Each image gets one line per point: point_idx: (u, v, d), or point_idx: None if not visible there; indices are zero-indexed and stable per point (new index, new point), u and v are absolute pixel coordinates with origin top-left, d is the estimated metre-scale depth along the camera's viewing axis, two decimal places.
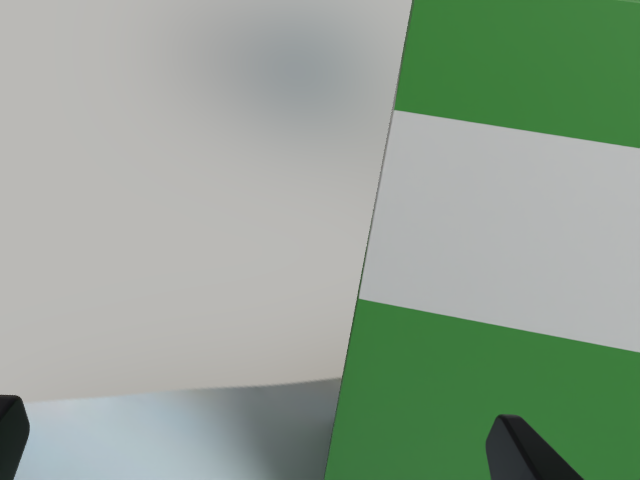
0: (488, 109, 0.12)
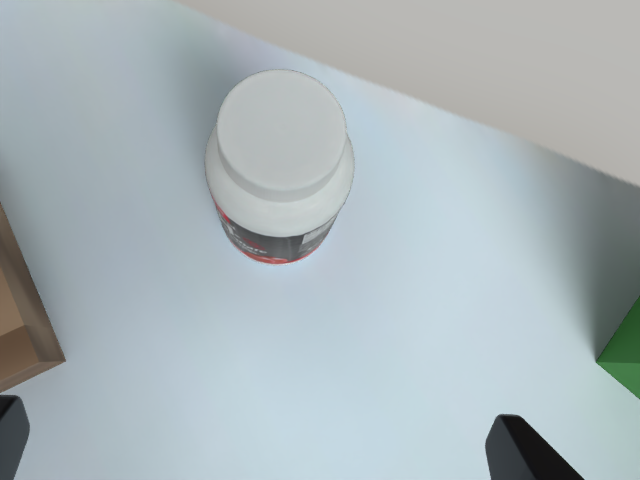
0: None
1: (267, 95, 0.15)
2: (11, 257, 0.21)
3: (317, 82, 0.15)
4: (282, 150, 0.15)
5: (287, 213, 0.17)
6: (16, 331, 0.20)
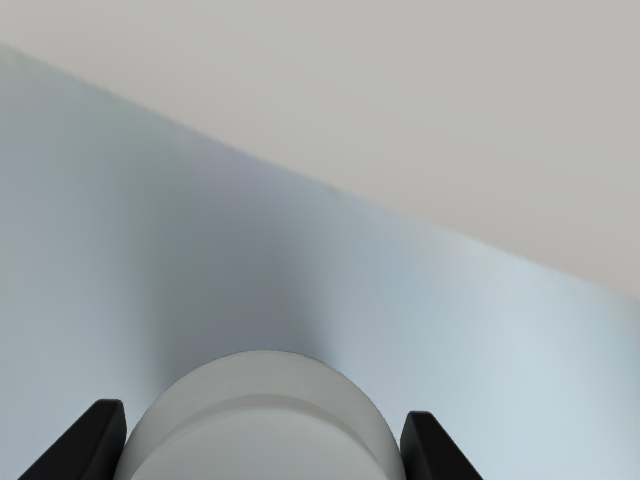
0: None
1: None
2: None
3: (342, 437, 0.07)
4: None
5: None
6: None
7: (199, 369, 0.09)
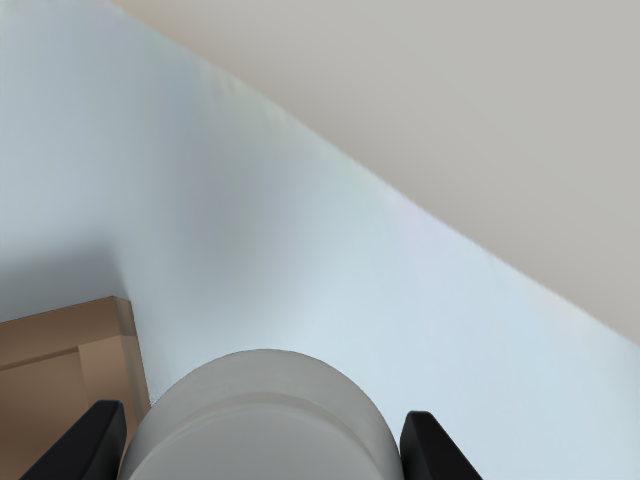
0: None
1: None
2: None
3: (335, 434, 0.07)
4: None
5: None
6: None
7: (201, 368, 0.09)
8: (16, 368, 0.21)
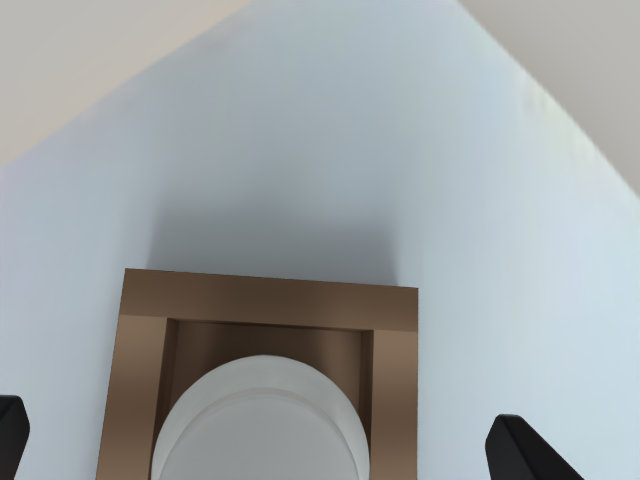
0: None
1: (235, 448, 0.10)
2: None
3: (313, 414, 0.10)
4: None
5: None
6: None
7: (214, 371, 0.12)
8: (274, 328, 0.20)
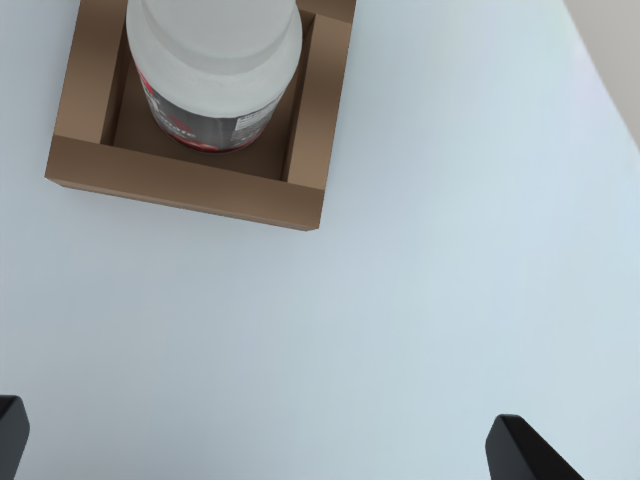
0: None
1: None
2: None
3: None
4: (218, 8, 0.13)
5: (219, 89, 0.15)
6: (316, 191, 0.20)
7: None
8: None
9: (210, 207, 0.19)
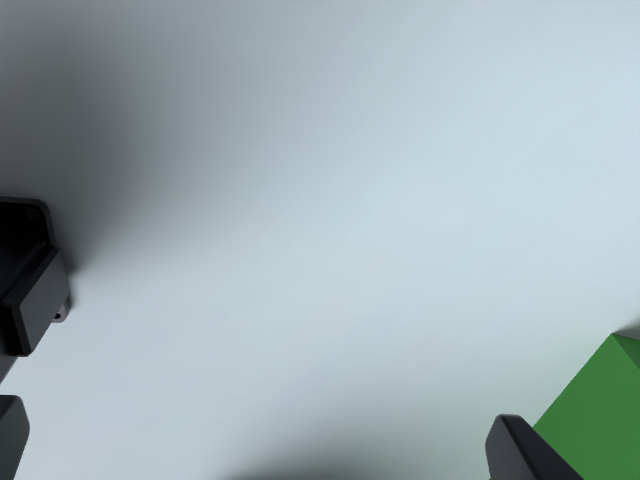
0: None
1: None
2: None
3: None
4: None
5: None
6: None
7: None
8: None
9: None
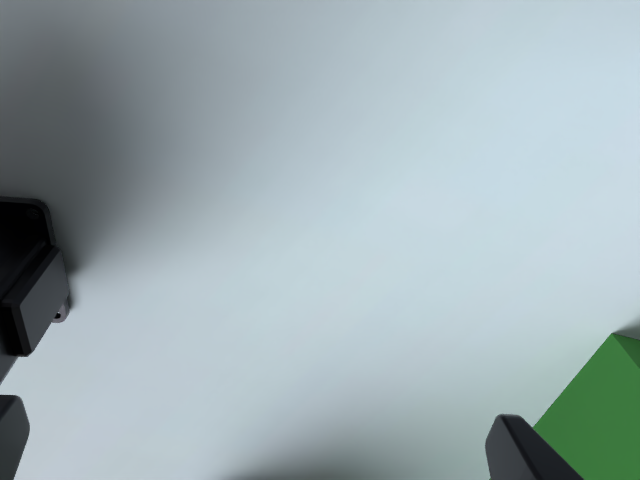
0: None
1: None
2: None
3: None
4: None
5: None
6: None
7: None
8: None
9: None
